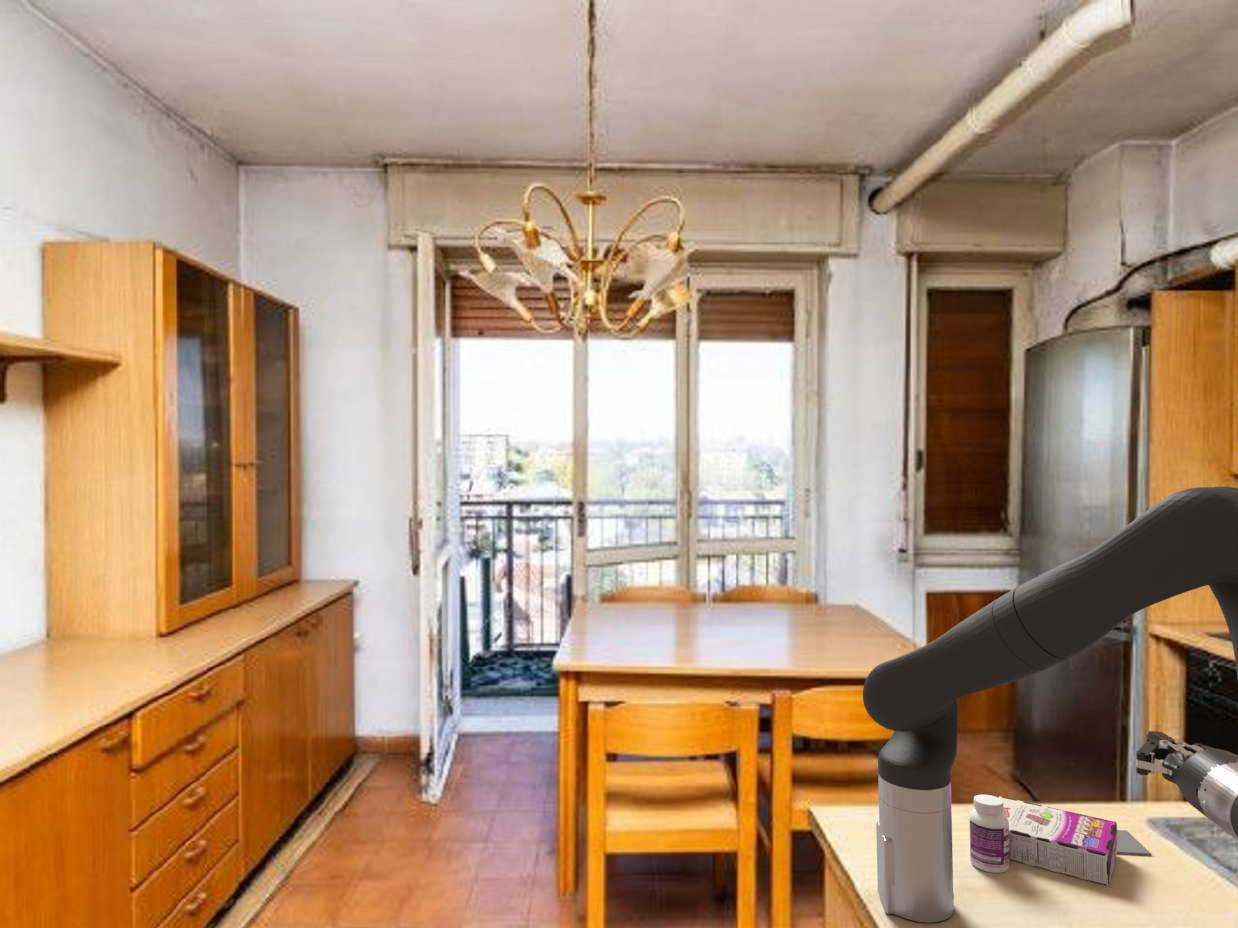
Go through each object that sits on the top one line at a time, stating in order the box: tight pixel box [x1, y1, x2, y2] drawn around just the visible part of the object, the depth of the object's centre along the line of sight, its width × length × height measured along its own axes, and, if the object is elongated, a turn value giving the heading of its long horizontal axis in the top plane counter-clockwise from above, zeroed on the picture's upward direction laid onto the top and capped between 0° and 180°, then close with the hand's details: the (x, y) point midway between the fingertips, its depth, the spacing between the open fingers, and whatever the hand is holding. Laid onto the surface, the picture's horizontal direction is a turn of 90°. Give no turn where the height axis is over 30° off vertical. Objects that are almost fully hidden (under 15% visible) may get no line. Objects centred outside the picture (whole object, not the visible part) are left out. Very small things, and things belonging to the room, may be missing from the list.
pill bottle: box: [968, 794, 1010, 874], centre depth 115 cm, size 5×5×10 cm
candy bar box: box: [998, 795, 1118, 887], centre depth 118 cm, size 11×5×16 cm
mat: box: [1116, 829, 1152, 857], centre depth 121 cm, size 11×8×1 cm
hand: (1153, 738), depth 101 cm, fingers closed
